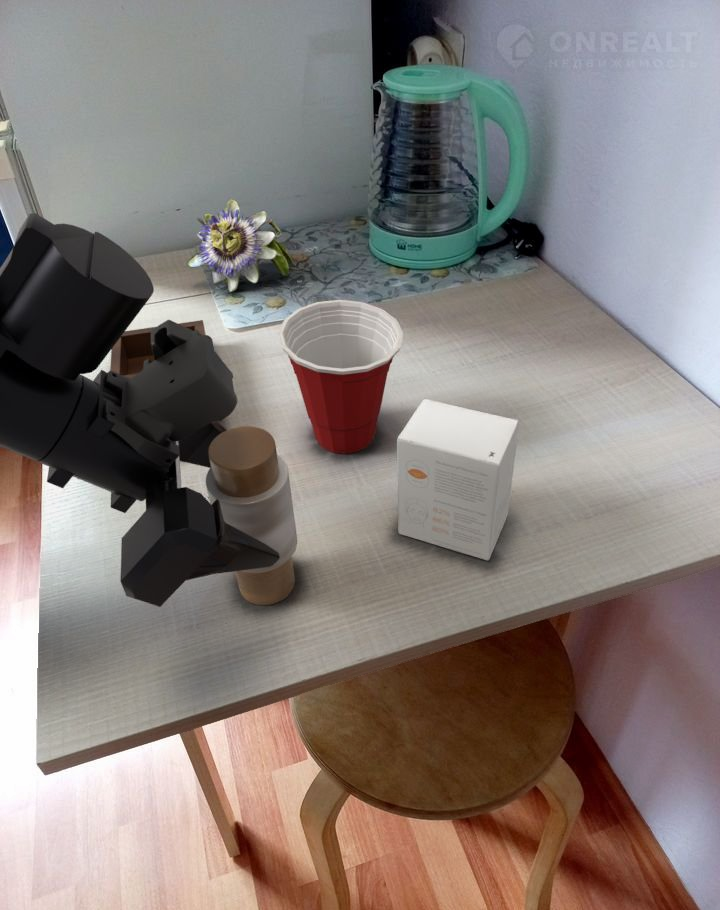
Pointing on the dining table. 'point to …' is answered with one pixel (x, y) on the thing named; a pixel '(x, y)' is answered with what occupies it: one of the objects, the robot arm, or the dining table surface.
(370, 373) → the plastic cup
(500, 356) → the dining table surface
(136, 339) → the tray
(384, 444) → the dining table surface
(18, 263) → the robot arm
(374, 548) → the dining table surface
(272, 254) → the passion flower
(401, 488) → the small box
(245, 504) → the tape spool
